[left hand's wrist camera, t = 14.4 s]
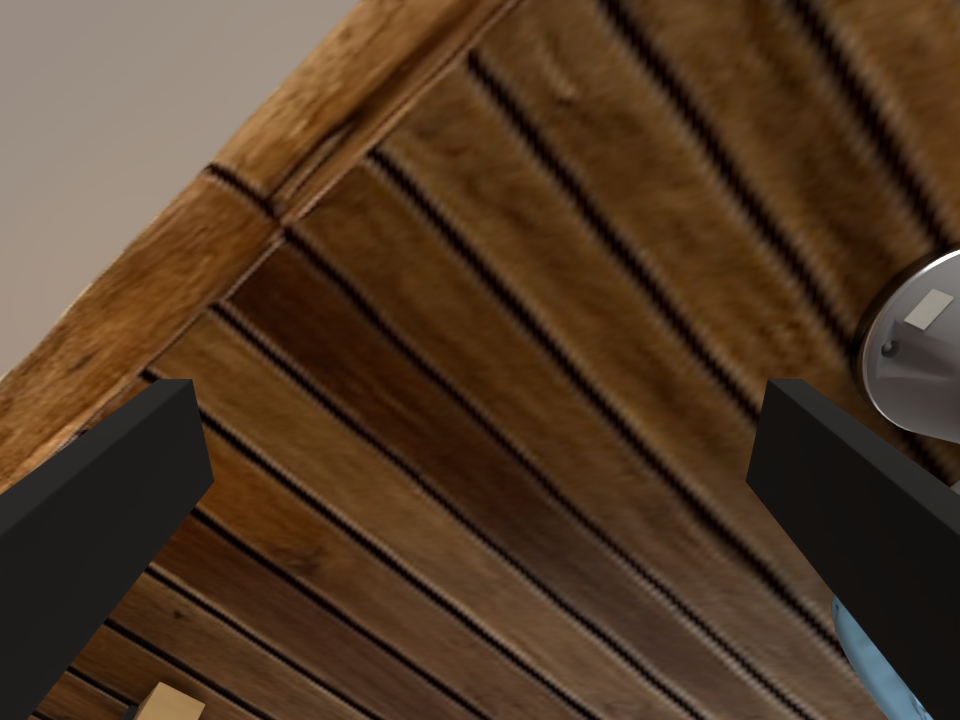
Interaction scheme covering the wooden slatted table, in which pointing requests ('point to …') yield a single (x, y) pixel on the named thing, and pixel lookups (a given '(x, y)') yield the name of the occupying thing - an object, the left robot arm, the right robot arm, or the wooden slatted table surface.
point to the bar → (168, 705)
